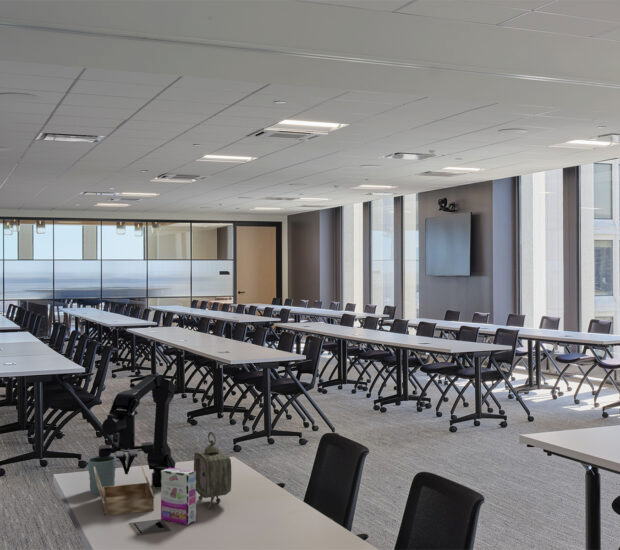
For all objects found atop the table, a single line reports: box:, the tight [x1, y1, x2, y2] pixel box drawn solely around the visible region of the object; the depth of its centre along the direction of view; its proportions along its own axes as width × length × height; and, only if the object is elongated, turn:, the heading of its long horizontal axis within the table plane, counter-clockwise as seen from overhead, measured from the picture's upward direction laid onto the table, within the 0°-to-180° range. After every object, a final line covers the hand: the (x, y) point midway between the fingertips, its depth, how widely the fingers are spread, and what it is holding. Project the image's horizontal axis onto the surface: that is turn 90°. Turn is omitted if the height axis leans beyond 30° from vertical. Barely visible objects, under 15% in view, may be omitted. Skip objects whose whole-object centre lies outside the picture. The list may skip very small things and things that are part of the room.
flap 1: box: [94, 467, 105, 505], centre depth 254 cm, size 8×19×1 cm
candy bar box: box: [160, 467, 197, 526], centre depth 240 cm, size 11×5×16 cm, turn 62°
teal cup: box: [87, 455, 117, 495], centre depth 273 cm, size 10×10×12 cm
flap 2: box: [139, 462, 156, 499], centre depth 260 cm, size 8×19×1 cm
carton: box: [101, 482, 155, 516], centre depth 257 cm, size 16×20×4 cm
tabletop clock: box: [193, 431, 232, 510], centre depth 258 cm, size 14×9×25 cm, turn 27°
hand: (126, 474), depth 257 cm, fingers closed
